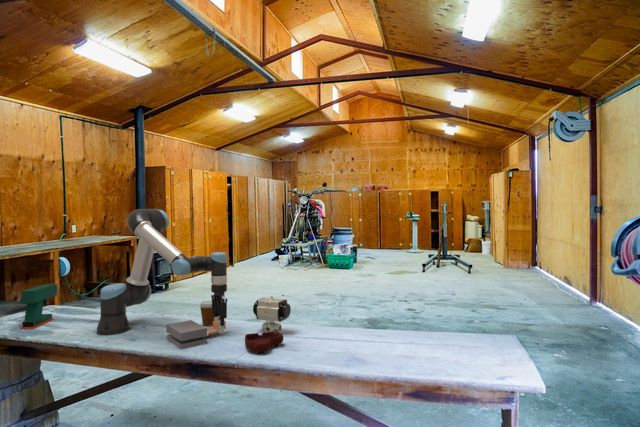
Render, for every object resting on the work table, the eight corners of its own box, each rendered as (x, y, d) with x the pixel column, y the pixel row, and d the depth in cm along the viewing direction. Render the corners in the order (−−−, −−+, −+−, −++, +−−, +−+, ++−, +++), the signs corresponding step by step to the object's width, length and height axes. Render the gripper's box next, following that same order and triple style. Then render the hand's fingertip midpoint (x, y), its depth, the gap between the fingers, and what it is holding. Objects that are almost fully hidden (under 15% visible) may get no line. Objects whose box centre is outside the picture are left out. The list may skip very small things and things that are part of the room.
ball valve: (251, 332, 199) (251, 297, 199) (260, 328, 207) (260, 294, 207) (283, 336, 192) (282, 299, 192) (291, 331, 200) (290, 296, 200)
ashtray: (257, 339, 188) (257, 329, 188) (286, 344, 181) (286, 333, 181) (232, 351, 173) (232, 339, 173) (263, 357, 165) (263, 345, 165)
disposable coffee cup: (212, 327, 209) (212, 304, 209) (196, 326, 211) (196, 304, 211) (221, 322, 218) (220, 301, 218) (205, 322, 220) (204, 300, 220)
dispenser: (181, 349, 175) (180, 333, 175) (166, 339, 190) (166, 324, 190) (209, 342, 183) (208, 327, 183) (192, 333, 198) (192, 319, 198)
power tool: (53, 314, 240) (53, 281, 240) (65, 314, 241) (65, 281, 241) (19, 329, 209) (19, 291, 209) (34, 329, 209) (33, 291, 210)
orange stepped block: (192, 337, 185) (192, 328, 185) (186, 333, 190) (186, 325, 190) (227, 329, 196) (227, 321, 196) (220, 327, 201) (220, 319, 201)
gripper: (204, 282, 201) (205, 328, 201) (219, 286, 188) (219, 336, 188) (218, 280, 206) (218, 326, 206) (234, 285, 193) (234, 333, 193)
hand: (219, 330), depth 197 cm, fingers closed on orange stepped block, 4 cm apart
